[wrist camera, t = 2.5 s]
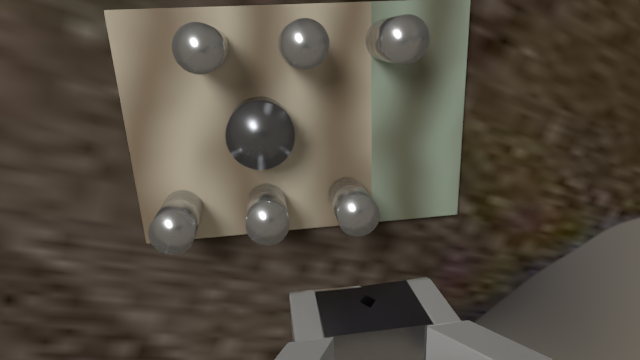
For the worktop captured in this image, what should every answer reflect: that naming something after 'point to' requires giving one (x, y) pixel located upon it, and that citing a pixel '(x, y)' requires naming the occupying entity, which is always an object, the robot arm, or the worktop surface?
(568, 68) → the worktop surface
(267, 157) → the dark metal plug
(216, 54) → the spacers
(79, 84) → the worktop surface
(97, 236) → the worktop surface
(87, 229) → the worktop surface
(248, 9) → the board
